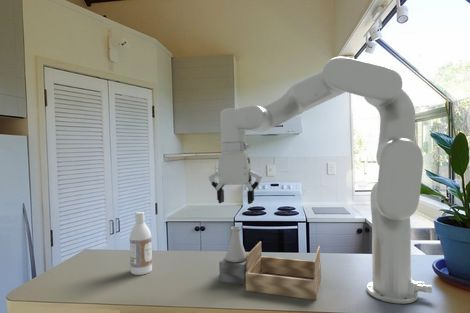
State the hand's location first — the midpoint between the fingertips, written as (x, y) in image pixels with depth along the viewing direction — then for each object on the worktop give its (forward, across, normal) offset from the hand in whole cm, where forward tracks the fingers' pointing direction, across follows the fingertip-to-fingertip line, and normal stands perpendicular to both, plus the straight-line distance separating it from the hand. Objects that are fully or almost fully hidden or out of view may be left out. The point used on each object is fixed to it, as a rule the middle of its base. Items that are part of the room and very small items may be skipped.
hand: (235, 202), depth 101 cm
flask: (+18, 0, 0) cm, 18 cm away
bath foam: (+24, +33, +4) cm, 41 cm away
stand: (+24, +1, 0) cm, 24 cm away
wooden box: (+24, -15, 0) cm, 28 cm away
